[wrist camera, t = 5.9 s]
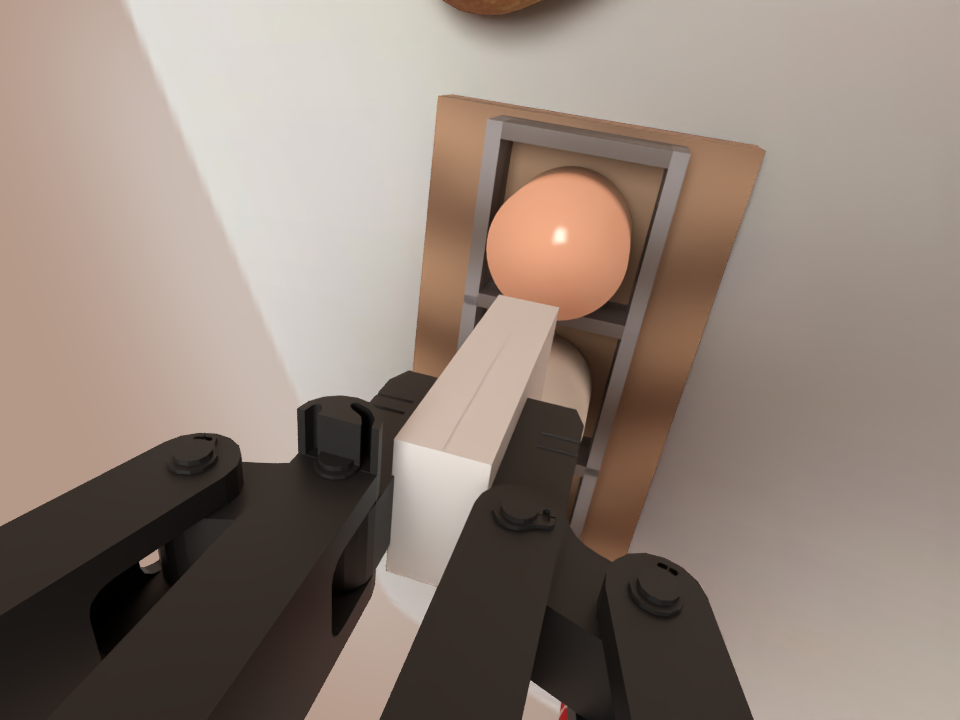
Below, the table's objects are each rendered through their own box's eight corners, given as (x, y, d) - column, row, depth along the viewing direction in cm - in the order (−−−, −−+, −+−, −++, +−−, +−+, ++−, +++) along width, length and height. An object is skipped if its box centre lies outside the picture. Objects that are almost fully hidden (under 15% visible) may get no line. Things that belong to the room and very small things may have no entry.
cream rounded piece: (492, 318, 26) (471, 350, 23) (604, 344, 25) (597, 381, 22) (477, 412, 28) (456, 452, 25) (579, 439, 28) (569, 484, 25)
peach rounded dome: (518, 155, 23) (497, 167, 20) (647, 178, 22) (646, 195, 19) (499, 276, 25) (477, 304, 22) (615, 301, 24) (609, 334, 21)
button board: (452, 94, 26) (416, 97, 22) (757, 145, 24) (777, 159, 20) (412, 482, 36) (383, 531, 32) (623, 543, 34) (619, 604, 30)
